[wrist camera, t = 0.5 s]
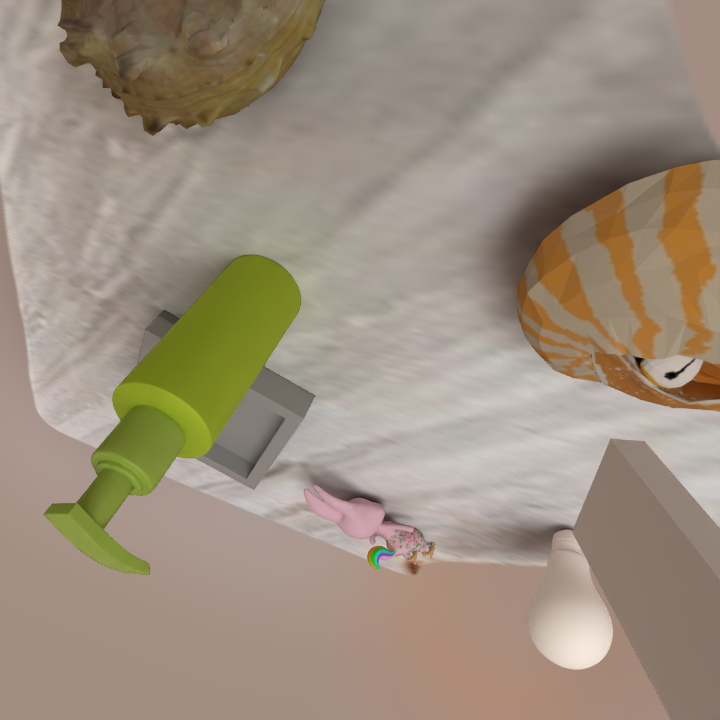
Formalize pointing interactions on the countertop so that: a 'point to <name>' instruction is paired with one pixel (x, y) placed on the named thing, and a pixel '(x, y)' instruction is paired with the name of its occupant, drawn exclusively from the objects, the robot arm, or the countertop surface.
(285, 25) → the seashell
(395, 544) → the rabbit figure
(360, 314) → the countertop surface
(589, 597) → the lightbulb
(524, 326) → the nautilus
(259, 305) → the soap dispenser
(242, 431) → the holder tray
